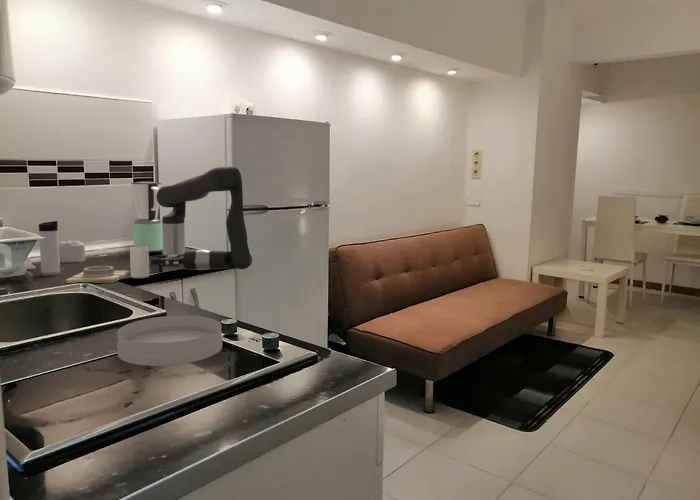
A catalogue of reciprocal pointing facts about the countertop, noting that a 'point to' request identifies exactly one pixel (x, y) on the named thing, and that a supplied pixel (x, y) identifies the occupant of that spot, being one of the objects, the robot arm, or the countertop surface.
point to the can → (139, 261)
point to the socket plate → (97, 279)
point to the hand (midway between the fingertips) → (153, 259)
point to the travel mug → (49, 248)
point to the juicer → (147, 216)
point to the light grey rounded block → (71, 251)
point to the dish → (169, 340)
